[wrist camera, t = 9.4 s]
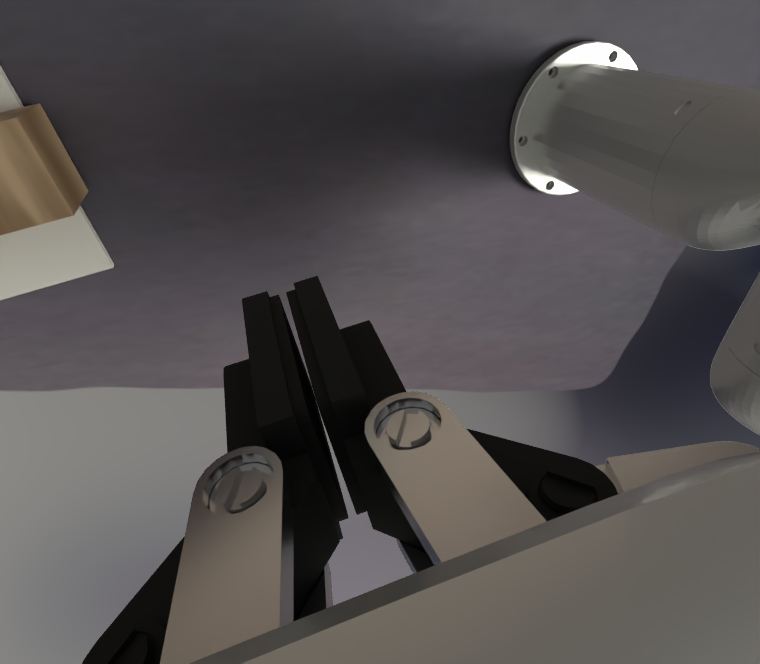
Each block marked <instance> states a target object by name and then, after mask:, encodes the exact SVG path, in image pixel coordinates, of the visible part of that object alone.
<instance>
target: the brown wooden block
mask: <svg viewBox="0 0 760 664" xmlns="http://www.w3.org/2000/svg"><path fill="white" fill-rule="evenodd" d="M87 193H88V189H87V188H86V186H85V184H84V182H83V180H82V178H81V177H80V175H79V173H78V171H77V169H76V168H75V166H74V164H73V162H72V160H71V159H70V157H69V155H68V153H67V151H66V150H65V148H64V146H63V144H62V142H61V140H60V139H59V137H58V135H57V133H56V131H55V130H54V128H53V126H52V124H51V122H50V121H49V119H48V117H47V115H46V113H45V112H44V110H43V108H42V106H41V104H40V103H38V104H34V105H30V106H26V107H22V108H17V109H13V110H9V111H5V112H1V113H0V235H4V234H7V233H11V232H15V231H18V230H22V229H26V228H29V227H33V226H37V225H41V224H44V223H48V222H52V221H55V220H59V219H63V218H66V217H70V216H74V215H75V213H76V211H77V210H78V208H79V206H80V205H81V203H82V201H83V200H84V198H85V196H86V195H87Z"/></svg>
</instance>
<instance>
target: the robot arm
mask: <svg viewBox="0 0 760 664" xmlns="http://www.w3.org/2000/svg"><path fill="white" fill-rule="evenodd" d="M549 70H550V71H549ZM510 150H511V156H512V160H513V162H514V165H515V168H516V170H517V171H518V173H519V174H520V176H521V177H522V179H523V180H525V181H526V182H527V183H528V184H529V185H530V186H532V187H534V188H535V189H537V190H539V191H541V192H543V193H546V194H551V195H567V194H572V193H575V192H578V191H581V192H583V193H585V194H587V195H588V196H590V197H592V198H594V199H596V200H598V201H600V202H602V203H604V204H606V205H608V206H610V207H612V208H614V209H616V210H618V211H620V212H622V213H624V214H626V215H628V216H630V217H632V218H634V219H635V220H637V221H639V222H641V223H643V224H645V225H647V226H649V227H651V228H653V229H655V230H657V231H659V232H661V233H663V234H665V235H667V236H669V237H671V238H673V239H675V240H677V241H679V242H681V243H683V244H686V245H689V246H692V247H695V248H700V249H705V250H731V249H739V248H744V247H749V246H754V245H758V244H760V89H750V88H744V87H738V86H732V85H726V84H719V83H713V82H707V81H701V80H695V79H689V78H683V77H676V76H670V75H664V74H658V73H652V72H646V71H640V70H638V69H637V66H636V64H635V63H634V61H633V60H632V58H631V57H630V55H629V54H628V53H626V52H625V51H624V50H623V49H622V48H620V47H618V46H616V45H614V44H611V43H608V42H601V41H583V42H580V43H576V44H572V45H570V46H568V47H566V48H564V49H562V50H560V51H558V52H557V53H555V54H554V55H553V56H551V57H550V58H549V59H547V60H546V61H545V62H544V63H543V64H542V65H541V66H540V67H539V68H538V69H537V71H536V72H535V73H534V74H533V76H532V77H531V78H530V80H529V81H528V83H527V84H526V85H525V87H524V89H523V91H522V93H521V95H520V97H519V99H518V101H517V104H516V107H515V110H514V113H513V117H512V122H511V127H510ZM294 286H295V290H292V291H289V292H286V294H287V297H288V301H289V305H290V308H291V312H292V315H293V319H294V322H295V326H296V330H297V333H298V337H299V340H300V344H301V348H302V351H303V355H304V358H305V362H306V366H307V369H308V373H309V376H310V380H311V383H310V380H309V378H308V375H307V372H306V369H305V366H304V364H303V361H302V358H301V355H300V352H299V350H298V347H297V344H296V341H295V339H294V336H293V333H292V330H291V327H290V325H289V322H288V319H287V316H286V313H285V311H284V308H283V305H282V302H281V300H280V297H279V295H276V296H272V297H269V295H268V292H267V291H266V292H263V293H260V294H256V295H253V296H250V297H247V298H243V299H242V304H243V312H244V320H245V328H246V336H247V344H248V352H249V359H247V360H244V361H241V362H238V363H235V364H231V365H228V366H225V367H224V391H225V411H226V431H227V450H228V453H227V454H225V455H223V456H221V457H220V458H218V459H217V460H216V461H215V462H213V463H212V464H211V465H210V466H209V467H208V468H207V469H206V470H205V471H204V473H203V474H202V476H201V477H200V478H199V480H198V482H197V484H196V487H195V490H194V493H193V497H192V503H191V508H190V514H189V518H188V523H187V528H186V533H185V537H184V538H183V539H182V540H181V541H180V542H179V544H178V545H177V546H176V547H175V548H174V550H173V551H172V552H171V553H170V554H169V556H168V557H167V558H166V559H165V561H164V562H163V563H162V564H161V565H160V566H159V568H158V569H157V570H156V571H155V572H154V574H153V575H152V576H151V577H150V578H149V580H148V581H147V582H146V583H145V584H144V585H143V587H142V588H141V589H140V590H139V592H138V593H137V594H136V595H135V596H134V598H133V599H132V600H131V601H130V602H129V603H128V605H127V606H126V607H125V608H124V609H123V611H122V612H121V613H120V614H119V615H118V617H117V618H116V619H115V620H114V622H113V623H112V624H111V625H110V626H109V627H108V629H107V630H106V631H105V632H104V633H103V635H102V636H101V637H100V638H99V639H98V641H97V642H96V643H95V645H94V646H93V648H92V649H91V650H90V652H89V653H88V655H87V656H86V658H85V659H84V661H83V663H82V664H760V449H758V448H756V447H754V446H751V445H747V444H743V443H739V442H735V441H717V442H711V443H704V444H697V445H690V446H684V447H678V448H670V449H664V450H657V451H650V452H644V453H637V454H631V455H624V456H617V457H610V458H607V460H606V465H599V466H594V465H592V464H590V463H588V462H585V461H583V460H580V459H577V458H574V457H570V456H567V455H563V454H559V453H555V452H552V451H548V450H544V449H541V448H537V447H533V446H529V445H525V444H522V443H518V442H514V441H511V440H507V439H503V438H500V437H496V436H492V435H488V434H485V433H481V432H477V431H473V430H470V429H466V428H465V427H464V426H463V425H462V423H461V422H460V421H459V420H458V419H457V418H456V417H455V416H454V414H453V413H452V412H451V411H450V410H449V409H448V407H446V405H445V404H444V403H443V402H441V401H440V400H439V399H438V398H436V397H434V396H432V395H429V394H427V393H421V392H413V391H412V392H406V390H405V388H404V386H403V384H402V382H401V380H400V378H399V376H398V374H397V372H396V371H395V369H394V367H393V365H392V363H391V361H390V359H389V357H388V355H387V353H386V351H385V349H384V347H383V345H382V343H381V341H380V339H379V337H378V336H377V334H376V332H375V330H374V328H373V326H372V324H371V322H370V321H369V320H368V321H365V322H362V323H359V324H356V325H352V326H349V327H346V328H343V329H340V330H339V327H338V325H337V322H336V320H335V318H334V315H333V313H332V310H331V308H330V305H329V303H328V300H327V298H326V296H325V293H324V291H323V288H322V286H321V283H320V281H319V278H318V276H315V277H312V278H309V279H305V280H302V281H299V282H296V283H294ZM710 382H711V387H712V390H713V392H714V395H715V396H716V398H717V400H718V401H719V403H720V404H721V405H722V406H723V407H724V409H725V410H726V411H728V413H729V414H730V415H732V416H733V417H734V418H735V419H736V420H738V421H739V422H740V423H742V424H743V425H744V426H746V427H748V428H749V429H751V430H752V431H754V432H755V433H757V434H759V435H760V273H759V275H758V277H757V278H756V280H755V282H754V284H753V286H752V288H751V289H750V291H749V293H748V295H747V296H746V298H745V300H744V302H743V303H742V306H741V307H740V309H739V311H738V312H737V315H736V316H735V318H734V320H733V321H732V323H731V325H730V327H729V329H728V330H727V333H726V335H725V337H724V338H723V340H722V342H721V344H720V346H719V348H718V350H717V353H716V355H715V357H714V359H713V362H712V366H711V372H710ZM311 384H312V386H311ZM312 387H313V389H312ZM313 391H314V392H313ZM314 394H315V395H314ZM316 401H317V402H316ZM317 404H318V406H317ZM318 407H319V409H318ZM319 411H320V413H319ZM320 414H321V417H322V419H323V422H324V425H325V428H326V430H327V433H328V436H329V439H330V442H331V444H332V447H333V450H334V453H335V456H336V458H337V461H338V464H339V467H340V469H341V472H342V475H343V478H344V480H345V483H346V486H347V488H348V491H349V494H350V497H351V500H352V502H353V505H354V508H355V511H356V513H357V515H358V514H360V513H363V512H366V511H367V512H368V515H369V518H370V521H371V524H372V527H373V529H375V530H377V531H380V532H382V533H385V534H387V535H389V536H392V537H394V538H396V541H397V544H398V547H399V549H400V551H401V552H402V554H403V556H404V558H405V560H406V562H407V563H408V565H409V567H410V569H411V571H412V573H413V574H412V575H410V576H407V577H405V578H402V579H400V580H397V581H395V582H392V583H389V584H387V585H384V586H382V587H379V588H377V589H374V590H372V591H369V592H367V593H364V594H362V595H359V596H357V597H354V598H352V599H349V600H347V601H344V602H342V603H339V604H337V605H334V606H333V594H332V579H331V578H332V577H331V570H330V566H329V562H328V560H329V559H330V557H331V555H332V554H333V552H334V550H335V549H336V547H337V545H338V543H339V542H340V541H339V540H340V539H342V538H343V536H342V532H341V528H340V524H339V521H342V520H344V519H347V518H348V514H347V510H346V506H345V503H344V500H343V495H342V492H341V488H340V485H339V482H338V478H337V474H336V470H335V467H334V463H333V460H332V456H331V452H330V449H329V445H328V442H327V438H326V435H325V431H324V427H323V424H322V420H321V417H320Z"/></svg>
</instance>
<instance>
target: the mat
mask: <svg viewBox="0 0 760 664" xmlns="http://www.w3.org/2000/svg"><path fill="white" fill-rule="evenodd" d="M22 107H24V106H23V104H22V102H21V101H20V99H19V97H18V95H17V94H16V92H15V90H14V88H13V87H12V85H11V83H10V81H9V80H8V78H7V76H6V74H5V73H4V71H3V69H2V67H1V66H0V113H1V112H5V111H9V110H13V109H17V108H22ZM113 267H114V263H113V261H112V259H111V258H110V256H109V254H108V252H107V251H106V249H105V247H104V245H103V244H102V242H101V240H100V238H99V237H98V235H97V233H96V231H95V230H94V228H93V226H92V224H91V223H90V221H89V219H88V217H87V216H86V214H85V212H84V210H83V209H82V207H81V205H80V206H79V208H78V210H77V211H76V213H75V215H74V216H70V217H66V218H63V219H59V220H55V221H52V222H48V223H44V224H41V225H37V226H33V227H29V228H26V229H22V230H18V231H15V232H11V233H7V234H4V235H0V300H3V299H6V298H10V297H13V296H17V295H20V294H24V293H27V292H31V291H34V290H38V289H41V288H45V287H48V286H52V285H55V284H59V283H62V282H65V281H69V280H72V279H76V278H79V277H83V276H86V275H90V274H93V273H97V272H100V271H104V270H107V269H111V268H113Z"/></svg>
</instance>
